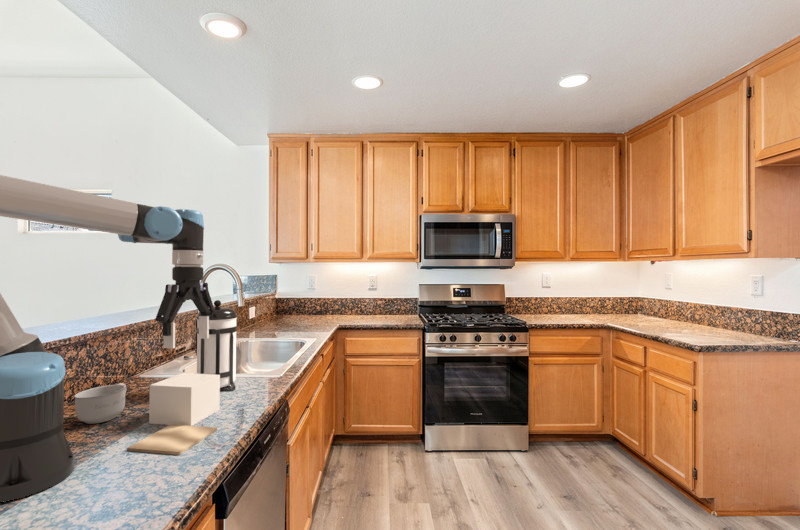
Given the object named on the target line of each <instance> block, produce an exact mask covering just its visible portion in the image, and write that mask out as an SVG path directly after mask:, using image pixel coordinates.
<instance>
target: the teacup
mask: <svg viewBox="0 0 800 530" xmlns="http://www.w3.org/2000/svg"><path fill="white" fill-rule="evenodd" d="M126 393H127V385H126V383H124V382H120V383H117V384H109V385H102V386H101V385H100V386H97V387H92V388H89V389H86V390H85V389H84V390H82V391H79V392H78V393H76V394H74V396H73V398H74V404H75V414H76V417H77V419H78V420H79V421H81V422H84V423H85V424H88V425H93V424H100V423H104V422H108V421H111V420H113V419H115V418H116V417H118V416H119V414H120V413H122V412H123V410H124V409H125V408H126V406H125V405H126Z"/></svg>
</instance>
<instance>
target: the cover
mask: <svg viewBox="0 0 800 530" xmlns="http://www.w3.org/2000/svg"><path fill="white" fill-rule="evenodd" d="M220 399H221V388H220V375H215V374H197V373H192V372H191V373H190V372H181V373H178V374H176V375H174V376H173V375H172V376H170V377H167V378H165V379H162V380H160V381H157V382H154V383H151V384H149V406H148V407H149V411H148V412H149V415H148V416H149V417H148V418H149V419H148V423H149V424H152V425H164V424H165V426H166V425H167V426H168V425H170V424H172V425H187V426H195V425H196V424H197V423H199V422H201V421H203V420H205V419H206V418H208V417H210V416H211V415H213V414H215V413H216V412H218V411H220V409H221V408H220V405H221V403H220Z"/></svg>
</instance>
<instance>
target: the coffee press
mask: <svg viewBox="0 0 800 530" xmlns="http://www.w3.org/2000/svg"><path fill="white" fill-rule="evenodd" d="M221 305H222V302H221V300H219V299H218V300H215V301H214V302H213V306H214V309H215V312H214V313H213V315H212V316H209V338H208V339H201V338H199V316H202V315H201V314H200V312H199V311H198V314H197V315H196V316H195V318H196V321H197V322H196V324H197V326H196V335H197V336H196V339H197V340H196V374H215V375H220V389H221V388H223V387H224V388H227V389H228V390H229V391H230V390H232V391H235V390H236V388H237V387H236V385H235V383H234V382H235V381H236V379H237V378H236V375H237V374H236V373H237V372H236V370H237V332H238V324H237V319H238V316H239V314H238V313H237V312H236V310H235V309H233V308H232V307H226V306H225V307H223V306H221ZM209 309H210V308H209Z"/></svg>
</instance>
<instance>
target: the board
mask: <svg viewBox="0 0 800 530" xmlns="http://www.w3.org/2000/svg"><path fill="white" fill-rule="evenodd" d="M216 431H218V427H216V426H215V427H214V426H213V427H212V426H199V425H192V426H187V425H172V424H170V425H167V426H165V427H163V428H161V429H159V430H158V431H156V432H154V433H152V434H150V435H148V436H147V437H144V438H143V439H141V440H139V441H137V442H135V443H134V444H132V445H130V446H129V447H127V448H126V451H127V452H128V451H130V452H141V453H154V454H163V455H164V454H165V455H174V456H175V455H178V456H180V455H182V454H183V453H185V452H187V451H188V450H190V449H191V448H192V447H194V446H196V445H197V444H198V443H200V442H202V441H203V440H204V439H206V438H207V437H209V436H211V434H213V433H215V432H216Z"/></svg>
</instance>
